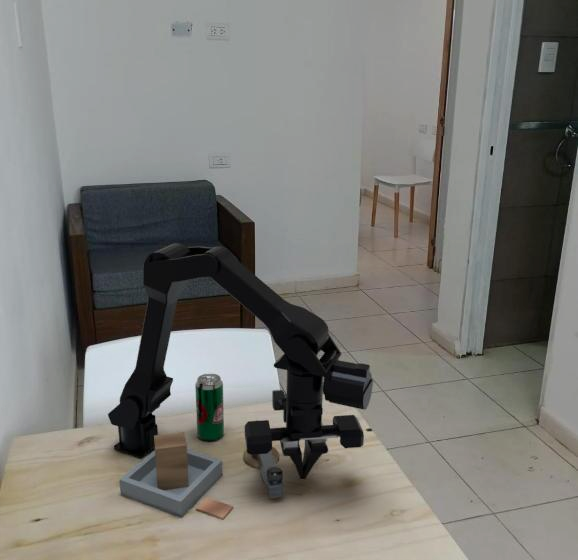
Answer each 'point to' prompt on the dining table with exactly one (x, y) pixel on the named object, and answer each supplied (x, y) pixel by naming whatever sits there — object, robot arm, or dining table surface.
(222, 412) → the soda can
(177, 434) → the block
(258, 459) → the lever
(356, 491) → the dining table surface
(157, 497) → the tray
